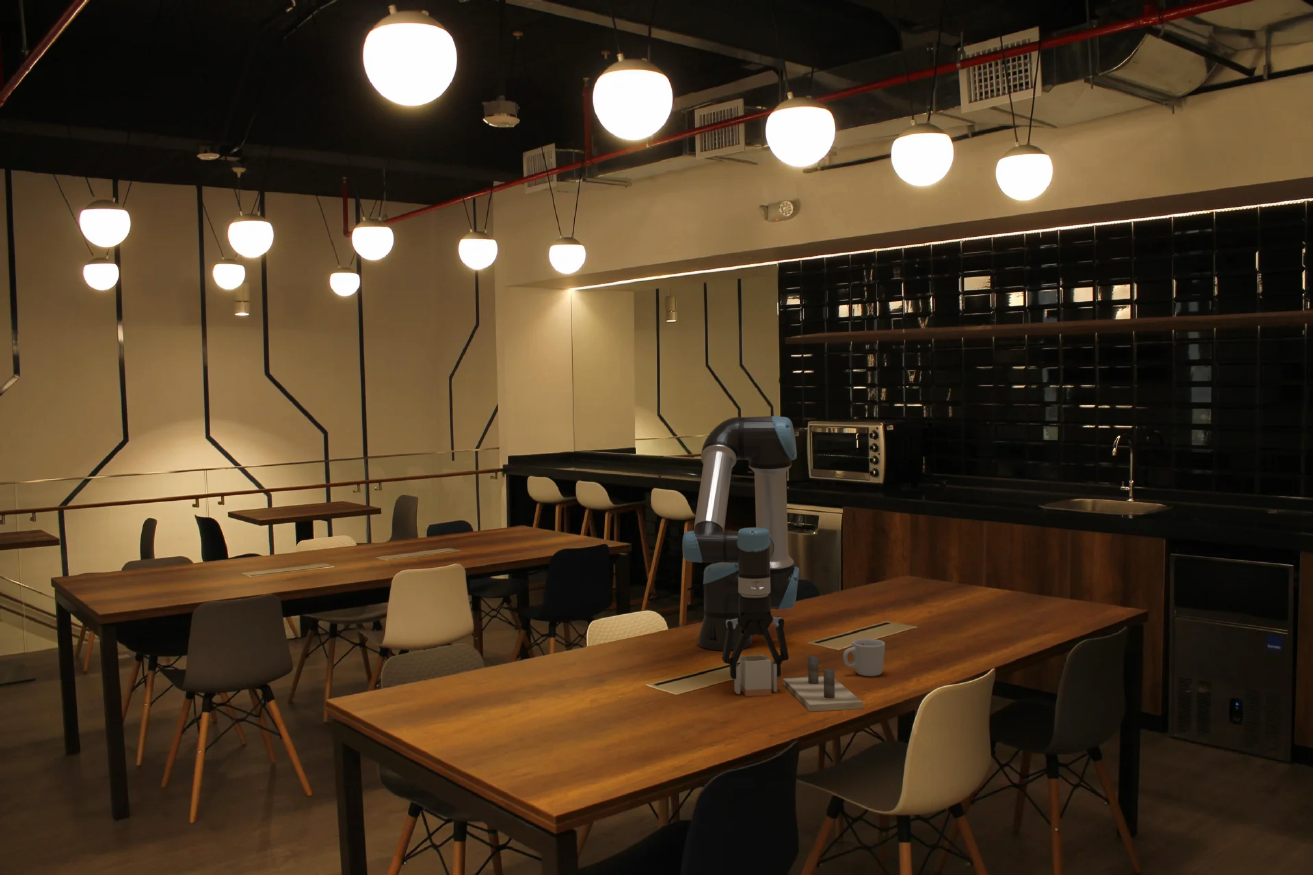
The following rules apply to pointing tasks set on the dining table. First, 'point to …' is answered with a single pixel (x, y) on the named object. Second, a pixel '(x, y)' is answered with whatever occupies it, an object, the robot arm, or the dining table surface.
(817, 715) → the dining table surface
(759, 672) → the sleeve
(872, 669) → the cup
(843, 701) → the pin board
